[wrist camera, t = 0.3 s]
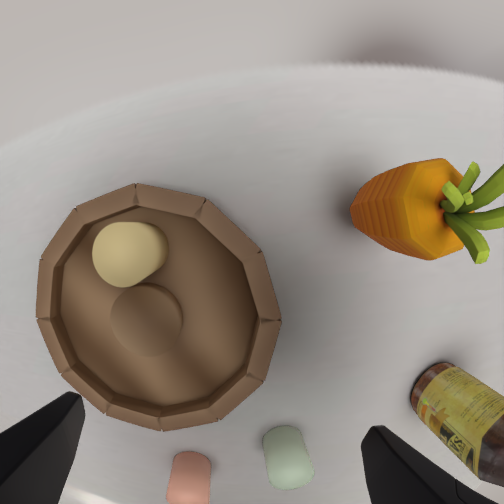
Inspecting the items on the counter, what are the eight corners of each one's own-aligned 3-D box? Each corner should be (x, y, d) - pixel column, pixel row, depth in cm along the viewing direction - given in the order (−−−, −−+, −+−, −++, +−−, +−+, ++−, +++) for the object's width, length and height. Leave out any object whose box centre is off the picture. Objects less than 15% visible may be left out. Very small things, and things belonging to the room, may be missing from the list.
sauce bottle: (396, 399, 25) (523, 535, 5) (438, 348, 24) (594, 448, 5) (427, 421, 25) (535, 532, 6) (464, 376, 25) (590, 463, 5)
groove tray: (172, 443, 23) (168, 460, 21) (22, 308, 21) (7, 315, 19) (320, 306, 23) (331, 316, 21) (146, 142, 21) (137, 133, 19)
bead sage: (281, 458, 24) (290, 494, 19) (254, 442, 24) (259, 479, 19) (309, 436, 24) (323, 471, 19) (283, 419, 24) (293, 455, 19)
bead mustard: (146, 283, 21) (124, 300, 16) (111, 249, 21) (81, 256, 16) (179, 246, 21) (164, 253, 16) (143, 211, 21) (118, 208, 16)
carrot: (349, 258, 23) (497, 306, 8) (312, 204, 22) (444, 179, 7) (394, 220, 23) (551, 224, 8) (360, 168, 22) (508, 114, 7)
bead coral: (195, 480, 24) (191, 515, 19) (165, 462, 24) (158, 498, 19) (218, 464, 24) (218, 501, 19) (188, 445, 24) (182, 482, 19)
